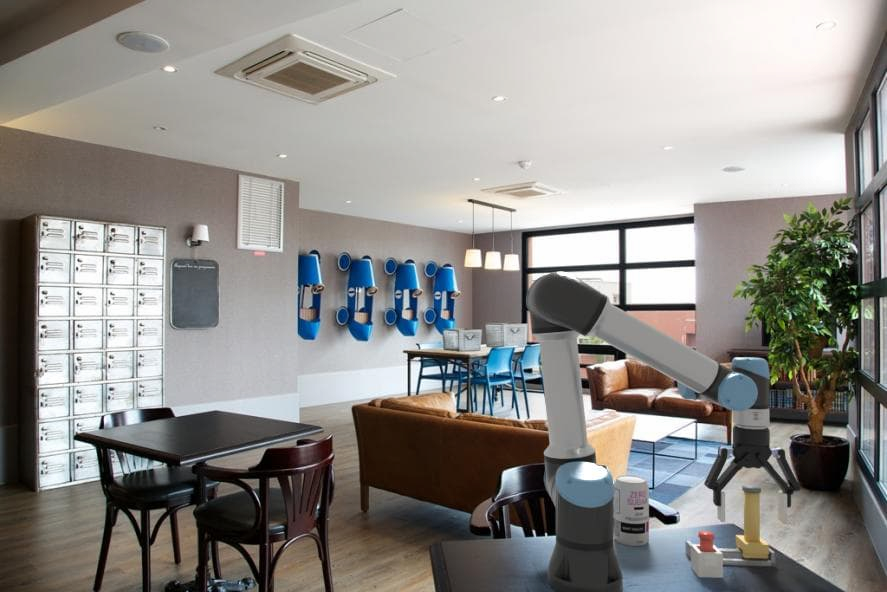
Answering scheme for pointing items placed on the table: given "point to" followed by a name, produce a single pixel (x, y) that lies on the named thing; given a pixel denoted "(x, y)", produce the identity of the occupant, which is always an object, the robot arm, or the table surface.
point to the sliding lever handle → (752, 525)
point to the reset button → (706, 541)
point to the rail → (739, 557)
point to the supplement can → (631, 510)
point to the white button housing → (707, 562)
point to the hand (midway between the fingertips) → (752, 521)
